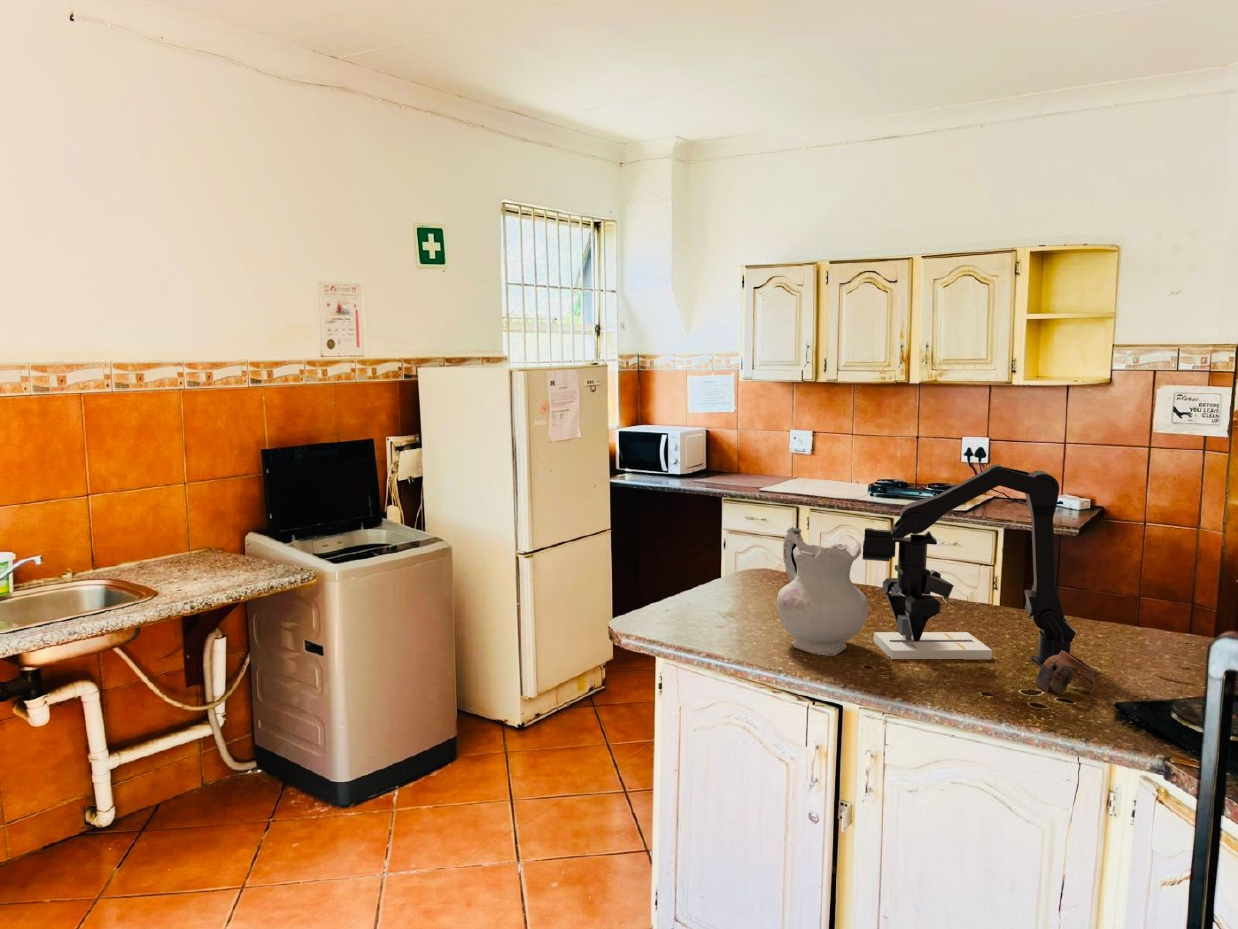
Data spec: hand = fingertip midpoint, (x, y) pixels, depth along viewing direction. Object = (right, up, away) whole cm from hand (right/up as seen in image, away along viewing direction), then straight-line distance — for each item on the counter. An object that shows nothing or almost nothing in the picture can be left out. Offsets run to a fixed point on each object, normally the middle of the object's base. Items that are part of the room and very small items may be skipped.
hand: (908, 634), depth 188 cm
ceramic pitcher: (-19, -3, +4) cm, 20 cm away
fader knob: (0, -1, 0) cm, 1 cm away
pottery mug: (+22, -7, -22) cm, 32 cm away
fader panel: (+5, -4, +1) cm, 6 cm away
